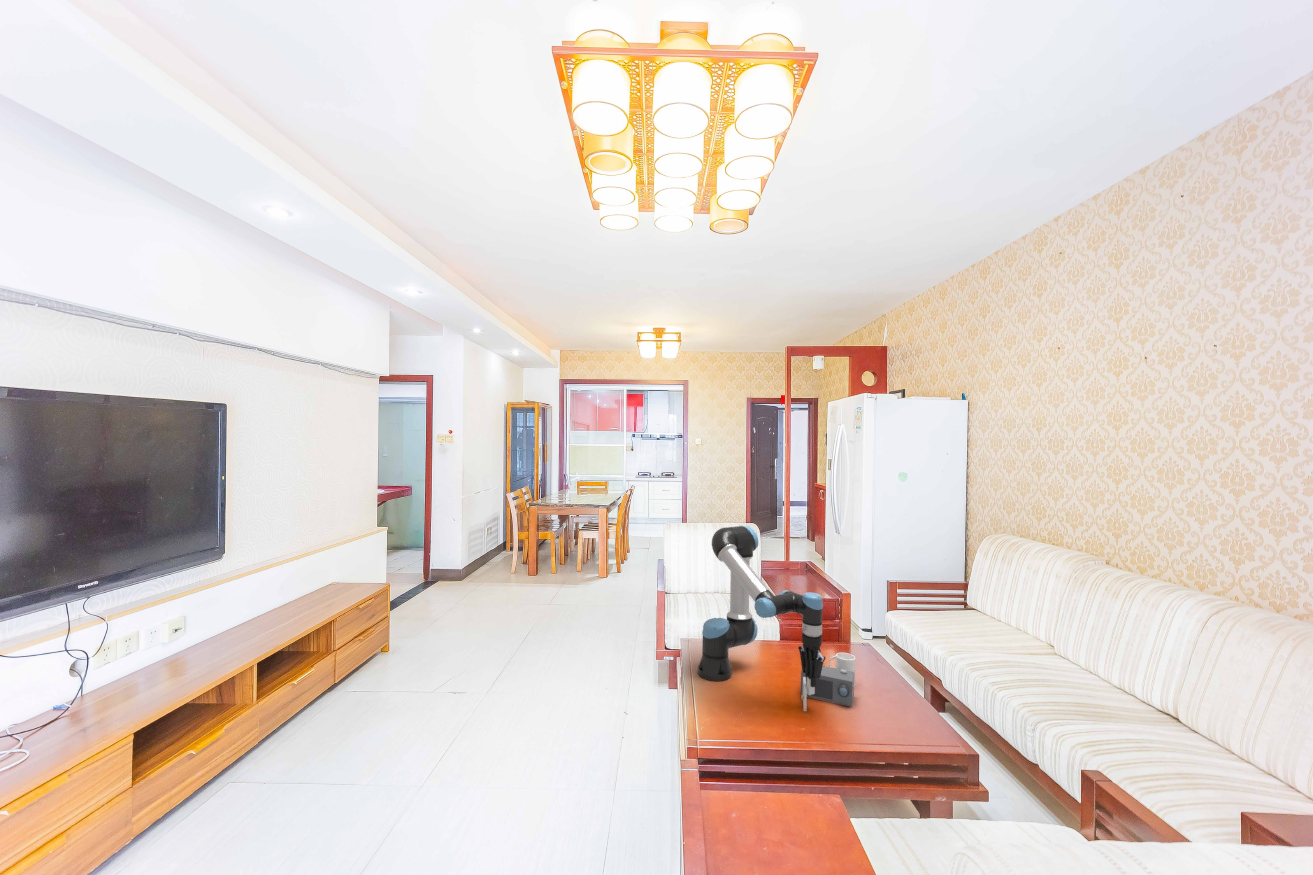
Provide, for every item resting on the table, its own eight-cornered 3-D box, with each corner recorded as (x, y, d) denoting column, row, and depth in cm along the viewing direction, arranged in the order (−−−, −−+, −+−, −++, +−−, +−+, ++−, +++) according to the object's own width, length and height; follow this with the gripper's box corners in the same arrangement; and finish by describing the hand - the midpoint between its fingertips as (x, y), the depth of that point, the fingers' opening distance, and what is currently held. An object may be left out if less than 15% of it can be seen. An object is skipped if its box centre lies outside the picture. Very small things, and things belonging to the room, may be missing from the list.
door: (799, 696, 220) (800, 675, 220) (805, 696, 220) (805, 676, 220) (801, 710, 209) (801, 688, 209) (806, 711, 208) (807, 689, 208)
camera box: (799, 697, 219) (800, 670, 219) (804, 685, 230) (805, 659, 230) (851, 708, 211) (852, 681, 211) (854, 696, 222) (854, 669, 222)
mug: (824, 680, 236) (824, 652, 236) (834, 674, 242) (834, 648, 242) (849, 690, 227) (849, 661, 227) (859, 684, 233) (859, 656, 233)
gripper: (793, 629, 215) (792, 688, 215) (816, 640, 203) (814, 703, 203) (807, 626, 218) (806, 684, 218) (831, 637, 206) (829, 699, 206)
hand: (810, 693), depth 210 cm, fingers closed
